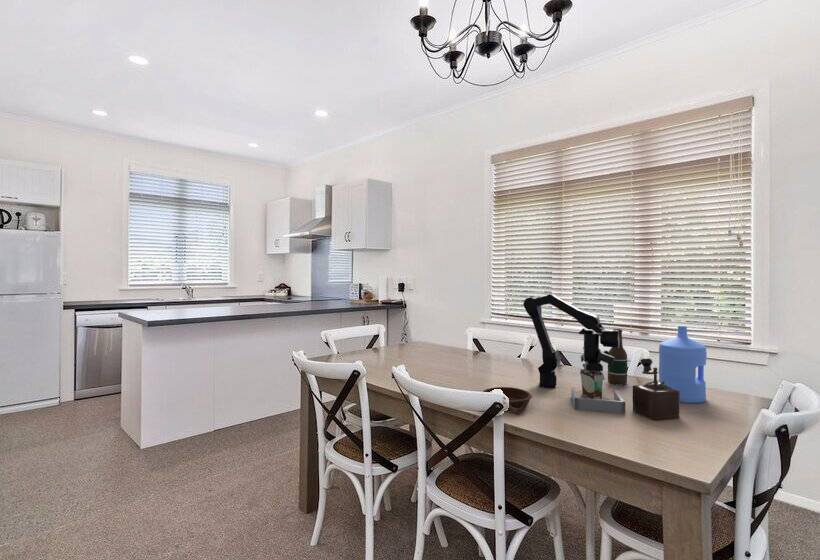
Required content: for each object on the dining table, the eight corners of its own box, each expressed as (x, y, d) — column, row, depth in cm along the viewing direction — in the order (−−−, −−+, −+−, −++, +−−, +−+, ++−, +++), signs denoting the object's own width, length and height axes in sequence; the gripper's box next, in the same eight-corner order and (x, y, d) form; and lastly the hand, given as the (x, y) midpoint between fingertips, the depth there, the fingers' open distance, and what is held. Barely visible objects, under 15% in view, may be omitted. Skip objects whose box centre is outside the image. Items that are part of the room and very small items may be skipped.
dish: (514, 395, 167) (514, 383, 167) (544, 414, 145) (544, 400, 145) (473, 399, 163) (473, 386, 163) (497, 418, 142) (497, 403, 141)
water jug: (664, 402, 158) (665, 328, 157) (653, 390, 173) (654, 323, 172) (712, 405, 153) (713, 330, 153) (697, 393, 168) (698, 324, 168)
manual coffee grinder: (682, 418, 140) (683, 365, 140) (654, 421, 138) (655, 367, 138) (646, 404, 156) (647, 356, 155) (621, 406, 153) (621, 357, 153)
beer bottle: (631, 384, 183) (631, 329, 183) (618, 385, 180) (618, 330, 180) (616, 379, 190) (616, 327, 190) (603, 381, 187) (604, 328, 187)
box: (574, 409, 150) (575, 398, 150) (571, 396, 165) (571, 386, 164) (625, 413, 145) (625, 402, 145) (617, 400, 160) (617, 390, 160)
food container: (611, 401, 157) (610, 375, 157) (596, 402, 157) (595, 376, 157) (595, 392, 170) (594, 367, 170) (580, 393, 169) (579, 368, 169)
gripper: (617, 350, 159) (617, 391, 160) (608, 342, 177) (608, 378, 178) (586, 349, 163) (585, 389, 163) (580, 341, 180) (580, 376, 181)
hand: (591, 383), depth 171 cm, fingers closed
